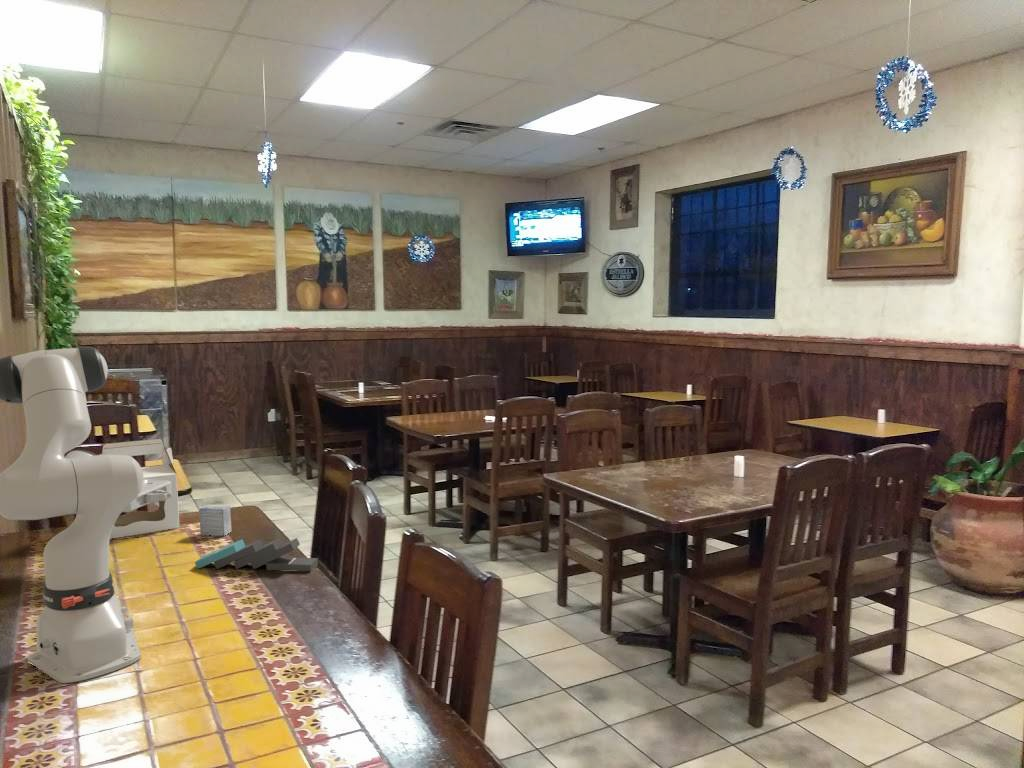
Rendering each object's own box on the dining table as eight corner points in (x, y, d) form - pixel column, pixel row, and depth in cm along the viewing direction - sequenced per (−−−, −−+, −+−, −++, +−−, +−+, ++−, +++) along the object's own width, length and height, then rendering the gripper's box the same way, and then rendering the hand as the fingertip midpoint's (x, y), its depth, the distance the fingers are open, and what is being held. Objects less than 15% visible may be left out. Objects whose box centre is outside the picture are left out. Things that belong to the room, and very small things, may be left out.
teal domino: (207, 562, 195) (245, 545, 193) (197, 568, 190) (236, 552, 188) (204, 555, 195) (242, 539, 193) (194, 562, 190) (233, 545, 188)
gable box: (99, 541, 213) (93, 448, 210) (95, 530, 224) (89, 441, 221) (180, 528, 226) (175, 440, 223) (173, 518, 237) (168, 434, 234)
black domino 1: (225, 562, 194) (263, 545, 193) (216, 569, 189) (255, 551, 188) (222, 556, 194) (260, 539, 193) (213, 562, 189) (252, 545, 188)
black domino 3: (261, 563, 194) (300, 544, 193) (253, 569, 189) (294, 550, 188) (257, 556, 194) (296, 537, 193) (250, 562, 189) (290, 543, 188)
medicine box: (232, 532, 221) (230, 504, 220) (224, 536, 217) (223, 508, 216) (207, 531, 222) (206, 504, 221) (200, 536, 217) (198, 508, 217)
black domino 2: (244, 563, 194) (283, 544, 193) (236, 569, 189) (276, 550, 188) (241, 556, 194) (279, 537, 193) (233, 562, 189) (272, 543, 188)
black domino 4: (274, 564, 193) (317, 565, 192) (266, 571, 188) (310, 572, 187) (274, 557, 193) (317, 558, 192) (266, 563, 188) (310, 564, 187)
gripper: (93, 493, 182) (144, 494, 181) (142, 475, 202) (188, 476, 201) (94, 517, 182) (145, 518, 181) (143, 497, 203) (189, 498, 201)
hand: (168, 496), depth 191 cm, fingers closed
